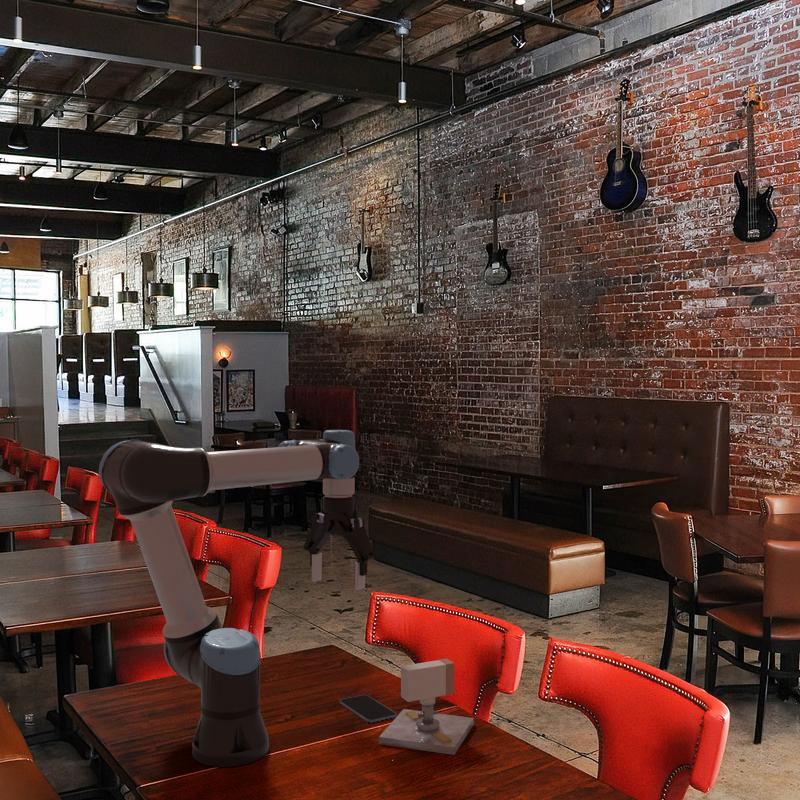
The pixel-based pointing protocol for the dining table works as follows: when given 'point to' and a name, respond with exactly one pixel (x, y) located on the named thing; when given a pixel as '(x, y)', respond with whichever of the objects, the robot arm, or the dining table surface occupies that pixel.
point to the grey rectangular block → (427, 681)
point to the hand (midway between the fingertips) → (337, 585)
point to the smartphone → (367, 708)
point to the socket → (427, 731)
